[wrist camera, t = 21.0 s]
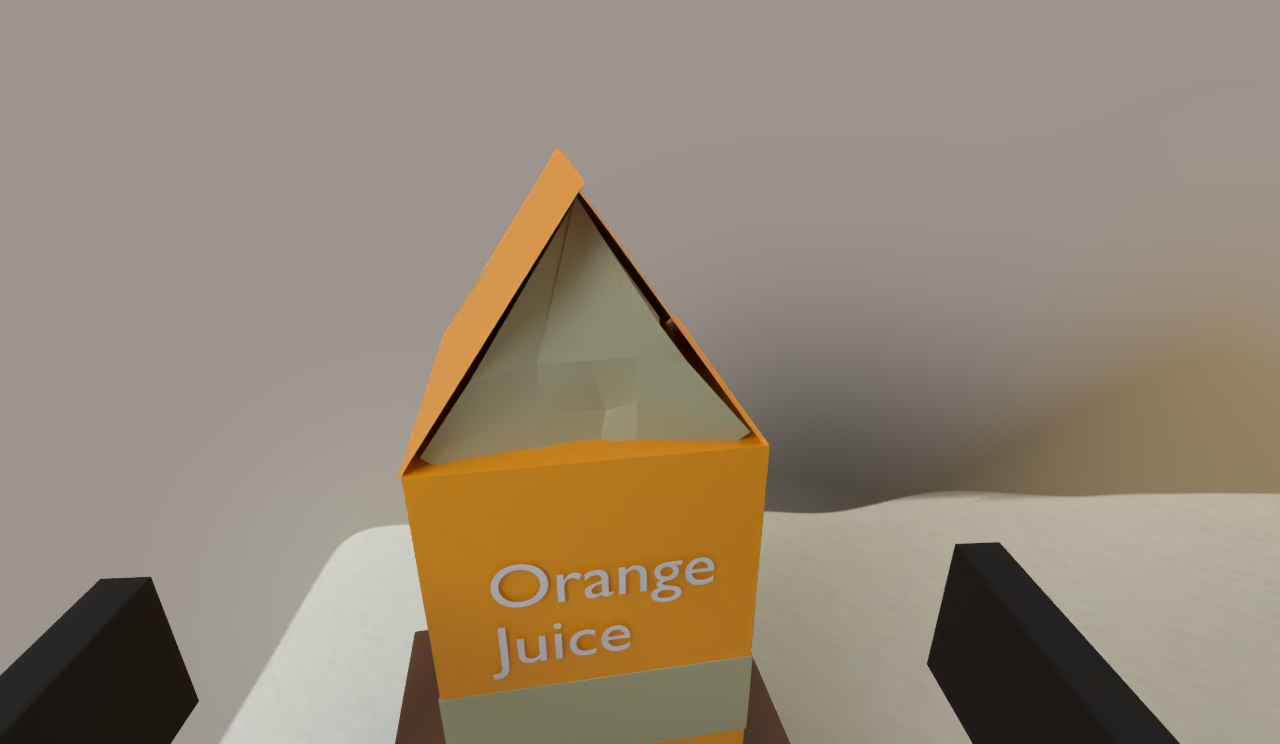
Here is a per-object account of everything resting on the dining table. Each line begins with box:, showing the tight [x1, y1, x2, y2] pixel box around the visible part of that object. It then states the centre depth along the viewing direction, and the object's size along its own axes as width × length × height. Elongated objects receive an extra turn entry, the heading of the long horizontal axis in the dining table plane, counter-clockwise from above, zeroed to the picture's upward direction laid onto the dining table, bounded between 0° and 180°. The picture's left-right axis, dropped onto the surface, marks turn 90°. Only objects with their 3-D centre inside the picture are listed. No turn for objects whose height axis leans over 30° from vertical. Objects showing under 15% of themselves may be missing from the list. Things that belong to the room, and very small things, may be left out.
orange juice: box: [396, 147, 770, 744], centre depth 19 cm, size 8×9×20 cm
